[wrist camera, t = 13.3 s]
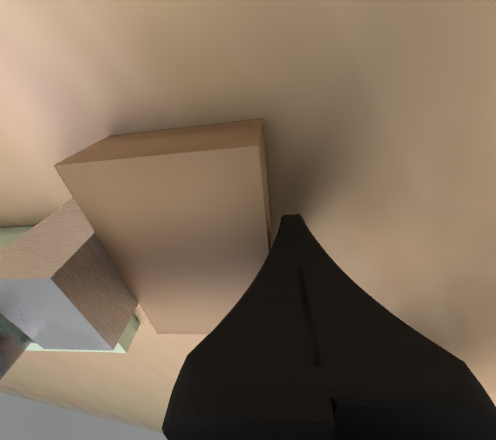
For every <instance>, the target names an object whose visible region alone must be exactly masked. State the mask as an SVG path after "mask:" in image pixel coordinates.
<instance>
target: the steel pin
mask: <svg viewBox="0 0 496 440" xmlns="http://www.w3.org/2000/svg"><path fill="white" fill-rule="evenodd" d="M32 341H33V340H32V339H31V338H30V337H29V336H27V335H26V334H25V333H24V332H23V331H21V330H20V329H19V328H18V327H17V326H16V325H14V324H13V323H12V322H11V321H10V320H8V319H7V318H6V317H5V316H4V315H2V314H1V313H0V380H1V378H2V377H3V376H4V375H5V374H6V372H7V371H8V370H9V369H10V368H11V366H12V365H13V364H14V363H15V361H16V360H17V359H18V358H19V357H20V355H21V354H22V353H23V352H24V351H25V349H26V348H27V347H28V346H29V344H30V343H31V342H32Z"/></svg>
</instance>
